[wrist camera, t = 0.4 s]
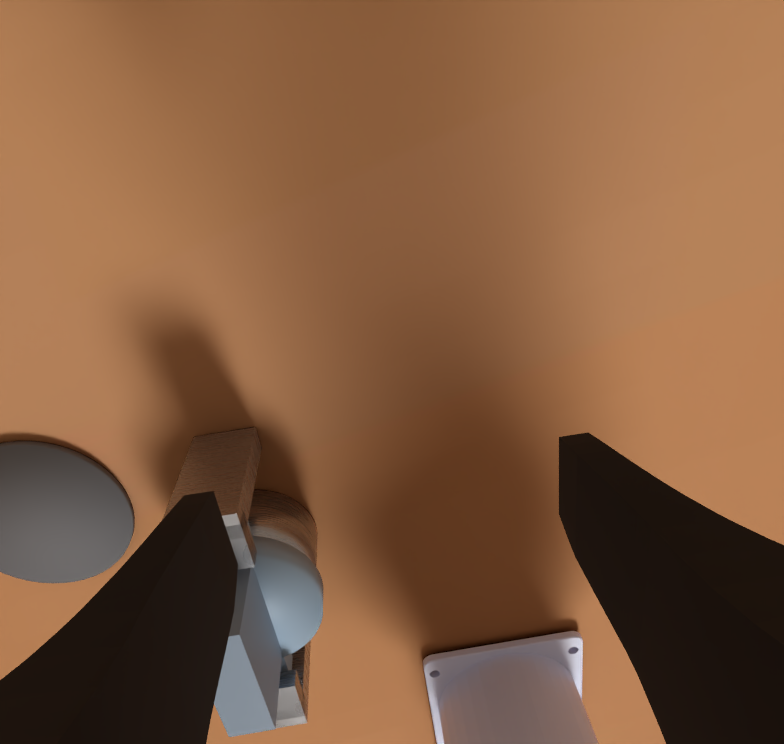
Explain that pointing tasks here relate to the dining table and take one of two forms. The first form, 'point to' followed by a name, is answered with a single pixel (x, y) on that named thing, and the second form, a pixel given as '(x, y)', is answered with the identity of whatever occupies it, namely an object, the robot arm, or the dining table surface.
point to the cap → (266, 633)
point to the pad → (59, 514)
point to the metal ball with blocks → (252, 529)
